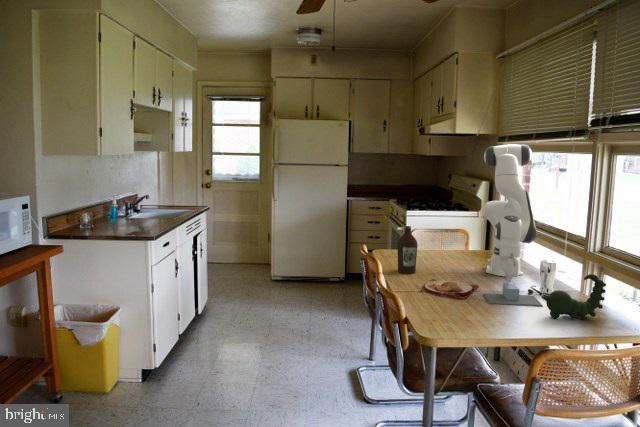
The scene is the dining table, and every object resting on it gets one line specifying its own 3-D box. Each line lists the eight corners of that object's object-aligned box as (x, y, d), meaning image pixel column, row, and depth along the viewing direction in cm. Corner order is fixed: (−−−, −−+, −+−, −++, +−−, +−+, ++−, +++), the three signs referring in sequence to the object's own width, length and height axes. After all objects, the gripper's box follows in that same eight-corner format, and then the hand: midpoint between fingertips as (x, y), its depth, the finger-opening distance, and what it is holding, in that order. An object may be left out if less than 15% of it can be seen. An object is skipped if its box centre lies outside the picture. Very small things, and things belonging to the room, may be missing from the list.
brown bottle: (394, 269, 274) (395, 225, 271) (412, 269, 275) (414, 224, 272) (399, 274, 263) (401, 228, 260) (419, 274, 265) (420, 227, 262)
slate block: (502, 282, 228) (507, 288, 218) (514, 283, 228) (519, 289, 218) (502, 293, 229) (506, 299, 219) (513, 293, 228) (518, 300, 218)
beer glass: (545, 294, 229) (547, 262, 227) (535, 290, 236) (537, 259, 234) (557, 293, 231) (560, 262, 229) (547, 289, 238) (549, 258, 236)
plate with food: (479, 288, 241) (479, 282, 241) (464, 301, 219) (464, 293, 219) (431, 282, 254) (431, 275, 253) (412, 293, 232) (413, 286, 232)
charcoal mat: (483, 294, 229) (483, 293, 229) (533, 296, 226) (533, 295, 226) (488, 303, 215) (489, 302, 215) (542, 306, 212) (542, 305, 212)
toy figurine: (590, 317, 204) (532, 313, 202) (597, 272, 202) (539, 267, 199) (605, 325, 195) (544, 321, 192) (613, 278, 192) (551, 273, 190)
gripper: (522, 257, 216) (521, 288, 217) (512, 247, 236) (510, 276, 238) (507, 256, 217) (505, 287, 218) (498, 247, 237) (496, 275, 238)
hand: (508, 281), depth 228 cm, fingers closed
